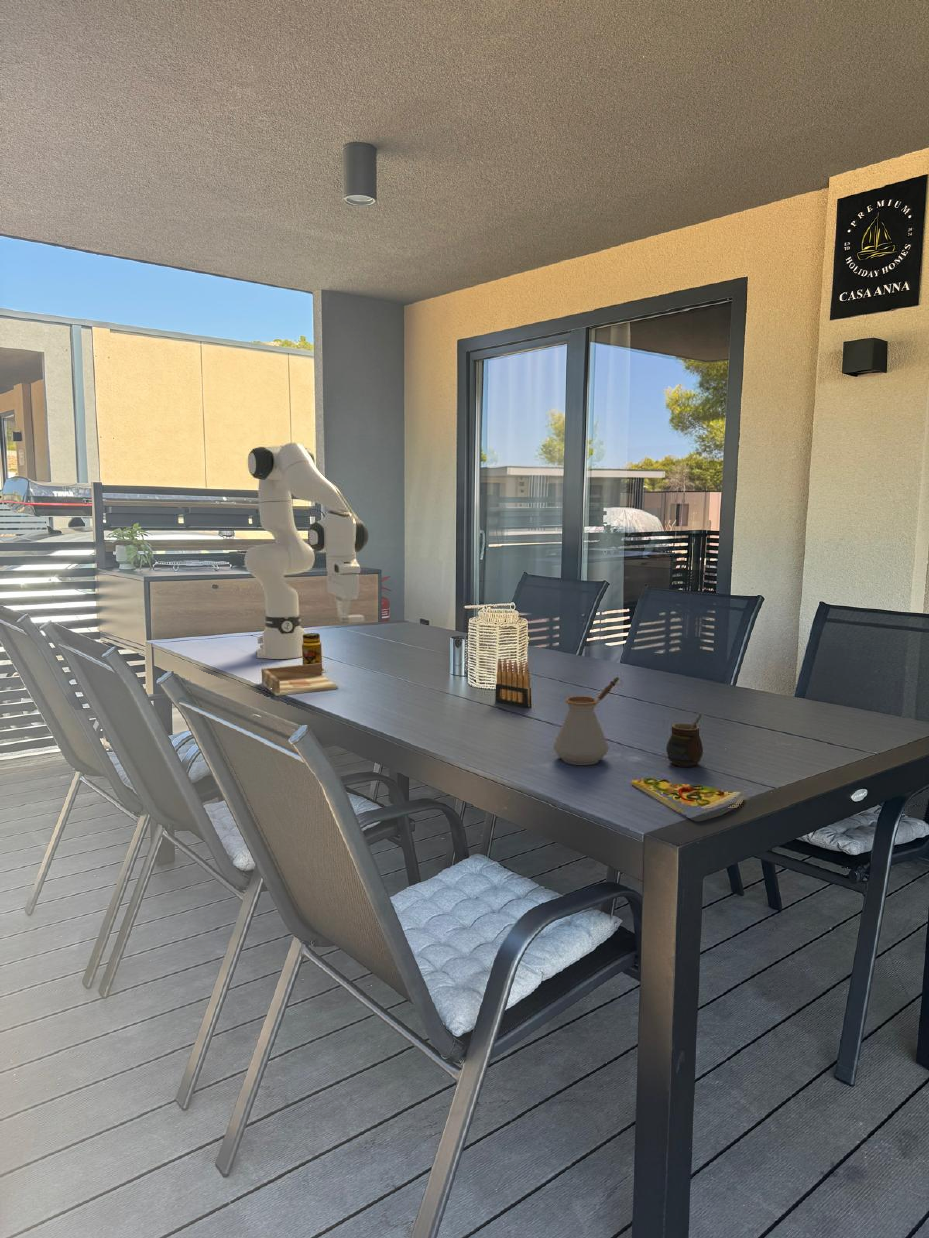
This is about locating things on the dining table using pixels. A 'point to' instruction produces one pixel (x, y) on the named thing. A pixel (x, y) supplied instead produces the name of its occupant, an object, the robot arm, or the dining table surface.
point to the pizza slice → (685, 793)
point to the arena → (296, 679)
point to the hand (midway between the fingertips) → (342, 611)
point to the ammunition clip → (513, 685)
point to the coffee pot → (582, 731)
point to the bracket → (344, 616)
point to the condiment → (312, 649)
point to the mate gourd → (685, 744)
